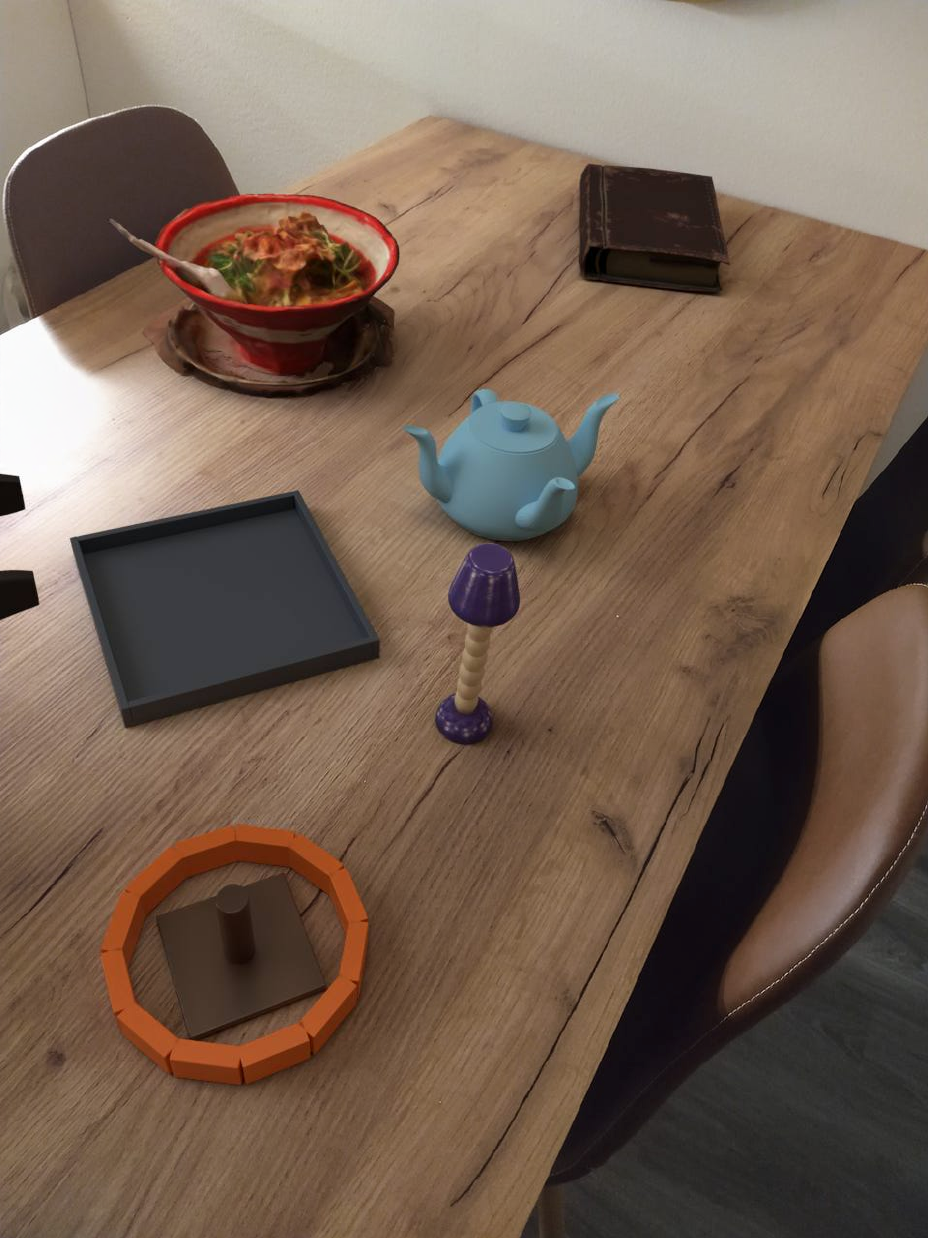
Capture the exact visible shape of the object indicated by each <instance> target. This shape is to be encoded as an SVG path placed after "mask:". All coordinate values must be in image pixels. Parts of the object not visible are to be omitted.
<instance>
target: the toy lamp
mask: <svg viewBox="0 0 928 1238" xmlns="http://www.w3.org/2000/svg"><path fill="white" fill-rule="evenodd" d="M447 601H448V606H449V607H450V609H451V611H452V612H453V613H454V614H455V616H456V617H457V618H459V619H460V620H461V621H463V622H464V623H467V624H466V630H467V633H466V634H465V637H464V649H463V650H462V655H461V661H462V662H461V664H460V666H459V670H458V671H459V673H458V674H459V675H458V676H459V678H458V679H457V682H456V690H457V691H456V692H455V693H452V694H450V695H448V696H447V697H445V698H444V699H443V700H442V701H441V703H440V704H439V706H438V707H437V708H436V711H435V716H434V721H435V722H434V723H435V726H436V728H437V730H438V732H439V733H440V734H441V735H442V736H443V737H445V738H446V739H447V740H449V741H451V742H454V743H457V744H463V745H466V744H476V743H478V742H481V741H483V740H484V739H485V738H486V737H487V736H488V735H489V734H490V732H491V731H492V728H493V721H494V719H493V715H492V710H491V708H490V707H489V705H488V704H487V702H486V701H485V700H484V699H483V698H482V697H480V696H479V694H480V692H481V690H482V680H483V678H484V676H485V672H486V671H485V670H486V669H485V667H486V666H485V665H486V664H487V661H488V656H489V655H488V650H489V648H490V645H491V635H492V633H493V628H495V627H499V626H503V625H505V624H507V623H508V622H509V621H512V620H513V618H515V616H516V615H517V614H518V612H519V609H520V605H521V593H520V587H519V580H518V573H517V566H516V560H515V558H514V556H513V555H512V553H511V552H510V550H509V549H507V548H506V547H504V546H502V545H500V544H498V543H493V542H492V543H491V542H490V543H489V542H485V543H480V544H477V545H475V546H474V547H472V548H471V549H470V550H469V551H468V553H467V554H466V556H465V557H464V559H463V561H462V562H461V565H460V566H459V568H458V570H457V572H456V574H455V576H454V578H453V579H452V581H451V584H450V585H449V589H448V593H447Z"/></svg>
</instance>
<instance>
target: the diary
mask: <svg viewBox="0 0 928 1238" xmlns="http://www.w3.org/2000/svg"><path fill="white" fill-rule="evenodd" d="M579 177H580V178H579V185H578V187H579V218H578V228H579V229H578V231H579V253H578V266H579V271H580V276H581V278H582V279H583V280H593V281H599V280H600V281H601V282H609V283H616V284H617V283H618V284H626V285H627V284H628V285H635V286H641V287H642V286H643V287H651V288H660V289H667V290H675V291H676V290H677V291H687V292H688V291H689V292H705V293H716V292H721V291H722V290H724V289H723V288H724V287H722V284H721V280H720V276H719V269H720V265H721V263H723V264H725V265H728V266H730V265H731V262H730V257H729V252H728V247H727V242H726V239H725V234H724V229H723V225H722V221H721V216H720V209H719V203H718V196H717V192H716V188H715V184H714V180H713V176H711V175H704V174H696V173H689V172H683V171H682V172H681V171H674V170H665V169H658V168H650V167H638V166H637V167H635V166H622V165H603V164H595V163H587V164H586V166H585V167H584V169H583V170H582V172H581V173H580V176H579Z"/></svg>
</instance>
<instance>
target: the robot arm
mask: <svg viewBox="0 0 928 1238" xmlns="http://www.w3.org/2000/svg"><path fill="white" fill-rule="evenodd" d="M25 510H26V503H25V497H24V492H23V488H22V483H21V478H20V475H14V474H8V473H7V474H6V473H0V517H5V516H10V515H12V514H17V513H19V512H22V511H25ZM38 606H40V599H39V594H38V589H37V584H36V579H35V575H34V570H28V569H4V570H0V621H2V620H4V619H5V620H6V619H7V618H9V617H12V616H14V615H17V614H20V613H23V612H25V611H27V610H30V609H32V608H35V607H38Z"/></svg>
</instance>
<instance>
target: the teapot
mask: <svg viewBox="0 0 928 1238" xmlns="http://www.w3.org/2000/svg"><path fill="white" fill-rule="evenodd" d="M619 397H620V395H619V394H618V393H609V394H606V395H604V396H602V397H599V398H598V399H596V400H594V402H593V403H592V404H591V405H590V406H589V407H588V409H587V410H586V412H585V414H584V415H583V418H582V420H581V422H580V424H579V426H578V428H577V430H576V431H575V433H574V434H573V435H572V436H571V437H570V438H569V439H568V440H567V439H566V437H565V435H564V433H563V431H562V430H561V428H560V427H559V425H558V424H557V423H556V421H555V419H554V418H553V417H552V416H550V414H549V413H547V412H546V411H544V410H543V409H540V408H539V407H536V406H534V405H531V404H528V403H526V402H521V401H513V400H511V401H510V400H509V401H508V400H507V401H506V400H504V401H499V398H498V396H497V394H496V392H495V391H493V390H492V389H490V388H489V389H488V388H481V389H477V390H476V391H474V392H473V393H472V396H471V400H470V414H469V415H468V416H466V417H465V418H464V420H463V421H462V422H461V423H460V424H459V425H458V426H457V427H456V428H455V429H454V430H453V431H452V433H451V434H450V435H449V437H448V438H447V440H446V441H445V442H444V444H443V446H442V448H441V449H440V451H439V454H438V453H437V443H436V439H435V437H434V435H433V434H432V432H430V431H429V430H428V429H425V428H423V427H420V426H416V425H404V426H402V430H403V431H404V432H406V433H407V434H409V435H410V436H412V438H414V439H415V440H416V442H417V445H418V448H419V449H418V451H419V453H418V475H419V479H420V481H421V484H422V486H423V488H424V489H425V491H426V492H427V493H428V494H429V495H430V497H433V498H434V499H435V500H437V502H438V504H439V506H440V507H441V509H442V511H444V512H445V513H446V514H447V515H448V516H449V517H450V518H451V520H453V522H455V523H456V524H457V525H459V527H461V528H463V529H464V530H466V531H468V532H470V533H472V534H474V535H476V536H479V537H482V538H485V539H488V540H494V541H502V542H518V541H525V540H529V539H535V538H537V537H540V536H541V535H544V534H546V533H548V532H550V531H552V530H554V529H556V528H557V527H559V526H560V525H562V524H563V523H564V522H565V521H566V520H567V519H568V518H569V516H570V515H571V514H572V512H573V511H574V509H575V507H576V505H577V500H578V495H579V477H580V476H582V474H583V473H584V472H585V471H586V470H587V469H588V467H589V466H590V465H591V463H592V461H593V460H594V458H595V454H596V450H597V445H598V438H599V431H600V428H601V423H602V421H603V418H604V416H605V414H606V413H607V411H608V410H609V409H610V408H611V407H612V406H613V405H614V404H615V403H616V402H617V401H618V400H619ZM437 455H438V456H437Z"/></svg>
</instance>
